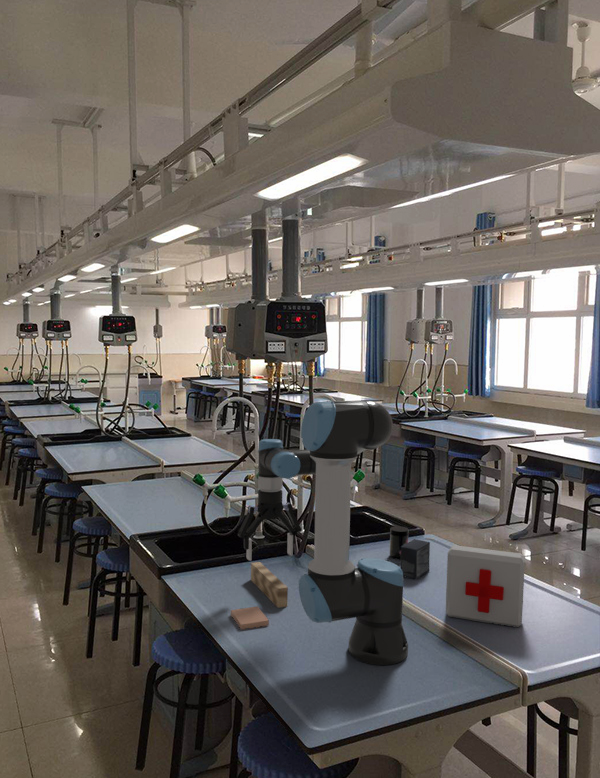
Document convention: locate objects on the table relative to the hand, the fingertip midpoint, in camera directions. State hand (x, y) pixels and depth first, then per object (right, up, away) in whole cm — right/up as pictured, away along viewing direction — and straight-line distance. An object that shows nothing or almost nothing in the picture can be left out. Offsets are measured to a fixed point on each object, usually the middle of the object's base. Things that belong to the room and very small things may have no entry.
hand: (269, 557), depth 205 cm
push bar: (-1, -12, +2) cm, 12 cm away
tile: (-5, -13, -19) cm, 23 cm away
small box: (+49, -11, +21) cm, 54 cm away
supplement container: (+46, -10, +38) cm, 61 cm away
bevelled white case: (+62, -14, -15) cm, 66 cm away
